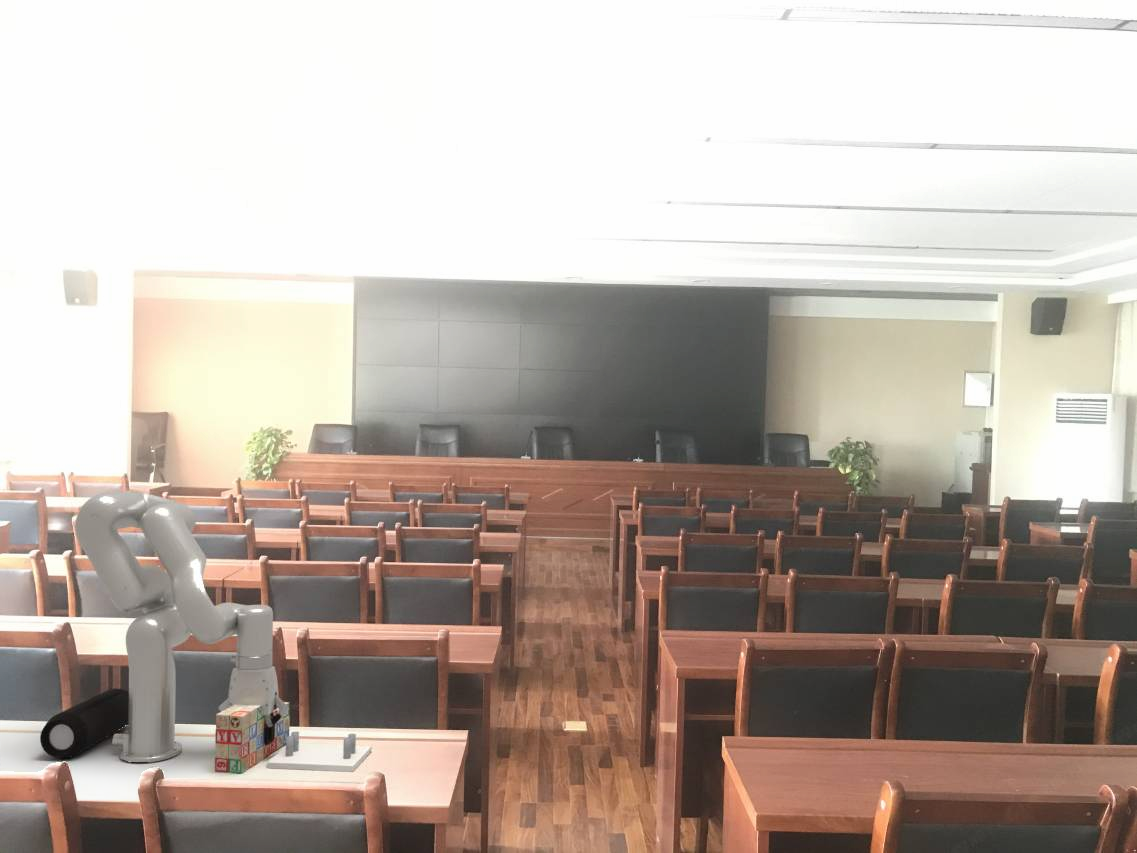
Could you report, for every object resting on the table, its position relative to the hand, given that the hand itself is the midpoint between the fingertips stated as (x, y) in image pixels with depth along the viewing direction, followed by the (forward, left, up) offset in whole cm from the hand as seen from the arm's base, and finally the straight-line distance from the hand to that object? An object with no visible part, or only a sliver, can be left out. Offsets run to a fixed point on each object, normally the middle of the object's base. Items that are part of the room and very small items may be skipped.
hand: (253, 742), depth 205 cm
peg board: (+15, 0, -3) cm, 16 cm away
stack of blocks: (0, 0, -3) cm, 3 cm away
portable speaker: (-41, +5, -4) cm, 41 cm away
